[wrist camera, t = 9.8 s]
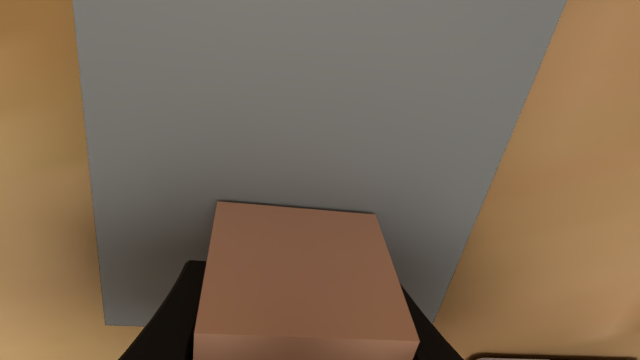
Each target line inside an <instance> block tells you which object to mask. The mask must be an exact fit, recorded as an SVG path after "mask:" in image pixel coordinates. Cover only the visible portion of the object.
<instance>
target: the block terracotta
mask: <svg viewBox="0 0 640 360" xmlns="http://www.w3.org/2000/svg"><path fill="white" fill-rule="evenodd" d="M419 342H420V340H419V337H418V334H417V332H416V329H415V326H414V323H413V320H412V317H411V314H410V312H409V309H408V306H407V303H406V300H405V297H404V294H403V291H402V289H401V286H400V283H399V280H398V277H397V274H396V271H395V269H394V266H393V263H392V260H391V257H390V254H389V251H388V249H387V246H386V243H385V240H384V237H383V234H382V231H381V229H380V226H379V223H378V220H377V217H376V215H375V214H363V213H351V212H339V211H327V210H315V209H303V208H292V207H280V206H268V205H256V204H244V203H232V202H220V201H217V206H216V212H215V217H214V223H213V229H212V234H211V240H210V246H209V251H208V257H207V263H206V268H205V274H204V280H203V285H202V291H201V297H200V302H199V308H198V314H197V319H196V325H195V331H194V347H193V360H413V357H414V355H415V352H416V350H417V347H418V345H419Z"/></svg>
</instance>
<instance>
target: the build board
mask: <svg viewBox="0 0 640 360" xmlns="http://www.w3.org/2000/svg"><path fill="white" fill-rule="evenodd" d="M72 1H73V11H74V21H75V31H76V41H77V50H78V60H79V70H80V80H81V90H82V100H83V110H84V120H85V130H86V140H87V150H88V160H89V170H90V180H91V190H92V199H93V209H94V219H95V229H96V239H97V249H98V259H99V269H100V279H101V289H102V299H103V309H104V319H105V325H115V326H143V327H145V326H146V325H147V324H148V322H149V321H150V320H151V318H152V317H153V316H154V314H155V313H156V311H157V310H158V308H159V307H160V305H161V304H162V303H163V301H164V300H165V298H166V297H167V295H168V294H169V292H170V290H171V289H172V287H173V286H174V284H175V282H176V280H177V279H178V277H179V275H180V273H181V271H182V269H183V267H184V265H185V263H186V262H188V261H189V260H197V261H207V257H208V251H209V246H210V240H211V234H212V229H213V223H214V217H215V212H216V206H217V201H220V202H232V203H244V204H256V205H268V206H280V207H292V208H303V209H315V210H327V211H339V212H351V213H363V214H375V215H376V217H377V220H378V223H379V226H380V229H381V231H382V234H383V237H384V240H385V243H386V246H387V249H388V251H389V254H390V257H391V260H392V263H393V266H394V269H395V271H396V274H397V277H398V280H399V282H400V284H401V285H402V286H403V288H404V289H405V290H406V292H407V293H408V294H409V295H410V297H411V298H412V299H413V301H414V302H415V303H416V305H417V306H418V307H419V308H420V310H421V311H422V312H423V314H424V315H425V316H426V317H427V318H428V320H429V321H430V322H431V323H432V325H433V322H434V320H435V318H436V315H437V313H438V310H439V308H440V306H441V303H442V301H443V298H444V296H445V294H446V291H447V289H448V286H449V284H450V281H451V279H452V277H453V274H454V272H455V269H456V267H457V265H458V262H459V260H460V257H461V255H462V253H463V250H464V248H465V245H466V243H467V241H468V238H469V236H470V233H471V231H472V228H473V226H474V224H475V221H476V219H477V216H478V214H479V212H480V209H481V207H482V204H483V202H484V200H485V197H486V195H487V192H488V190H489V187H490V185H491V183H492V180H493V178H494V175H495V173H496V171H497V168H498V166H499V163H500V161H501V159H502V156H503V154H504V151H505V149H506V147H507V144H508V142H509V139H510V137H511V134H512V132H513V130H514V127H515V125H516V122H517V120H518V118H519V115H520V113H521V110H522V108H523V106H524V103H525V101H526V98H527V96H528V94H529V91H530V89H531V86H532V84H533V81H534V79H535V77H536V74H537V72H538V69H539V67H540V65H541V62H542V60H543V57H544V55H545V53H546V50H547V48H548V45H549V43H550V40H551V38H552V36H553V33H554V31H555V28H556V26H557V24H558V21H559V19H560V16H561V14H562V12H563V9H564V7H565V4H566V2H567V0H72Z"/></svg>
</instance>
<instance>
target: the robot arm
mask: <svg viewBox="0 0 640 360" xmlns="http://www.w3.org/2000/svg"><path fill="white" fill-rule="evenodd" d="M206 263H207V261H197V260H189V261H188V262H186V263H185V265H184V267H183V269H182V271H181V273H180V275H179V277H178V279H177V280H176V282H175V284H174V286H173V287H172V289H171V290H170V292H169V294H168V295H167V297H166V298H165V300H164V301H163V303H162V304H161V305H160V307H159V308H158V310H157V311H156V313H155V314H154V316H153V317H152V318H151V320H150V321H149V322H148V324H147V325H146V326H145V328H144V329H143V330H142V331H141V333H140V334H139V335H138V336H137V338H136V339H135V340H134V342H133V343H132V344H131V345H130V346H129V348H128V349H127V350H126V351H125V352H124V354H123V355H122V356H121V357H120V358H119V359H118V360H193V347H194V331H195V325H196V319H197V314H198V308H199V302H200V297H201V291H202V285H203V280H204V274H205V268H206ZM399 283H400V282H399ZM400 286H401V289H402V291H403V294H404V297H405V300H406V303H407V306H408V309H409V312H410V314H411V317H412V320H413V323H414V326H415V329H416V332H417V334H418V337H419V340H420V342H419V345H418V347H417V350H416V352H415V355H414V357H413V360H464V359H463V358H462V357H461V356H460V355H459V354H458V353H457V352H456V351H455V350H454V349H453V348H452V346H451V345H450V344H449V343H448V342H447V341H446V340H445V339H444V338H443V336H442V335H441V334H440V333H439V332H438V331H437V329H436V328H435V327H434V326H433V325H432V323H431V322H430V321H429V320H428V318H427V317H426V316H425V315H424V314H423V312H422V311H421V310H420V308H419V307H418V306H417V305H416V303H415V302H414V301H413V299H412V298H411V297H410V295H409V294H408V293H407V292H406V290H405V289H404V288H403V286H402V285H401V284H400ZM476 360H548V359H513V358H479V359H476Z"/></svg>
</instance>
